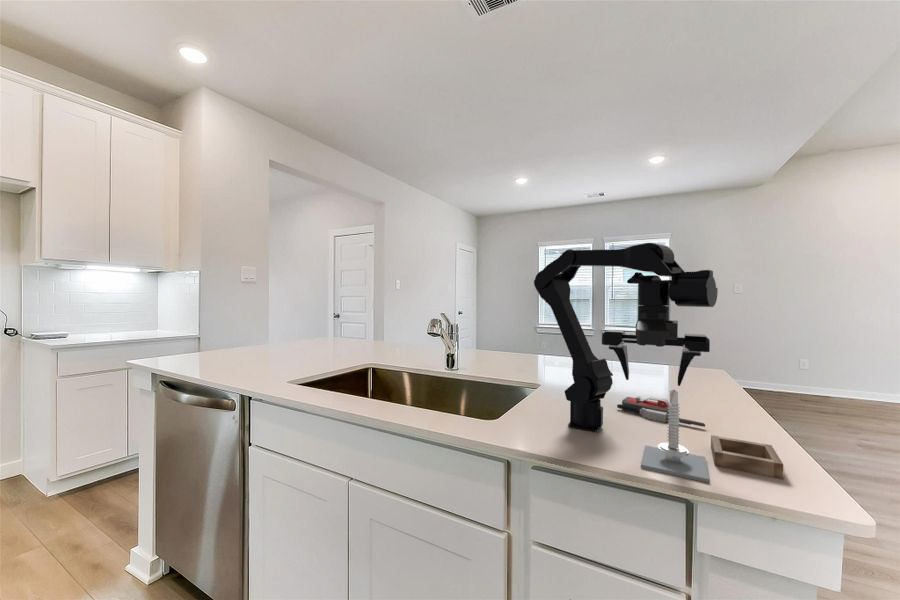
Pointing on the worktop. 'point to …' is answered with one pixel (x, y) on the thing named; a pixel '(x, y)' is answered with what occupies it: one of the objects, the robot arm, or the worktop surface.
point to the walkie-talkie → (651, 409)
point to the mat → (676, 464)
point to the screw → (673, 433)
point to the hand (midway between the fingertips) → (652, 382)
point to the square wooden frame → (746, 456)
